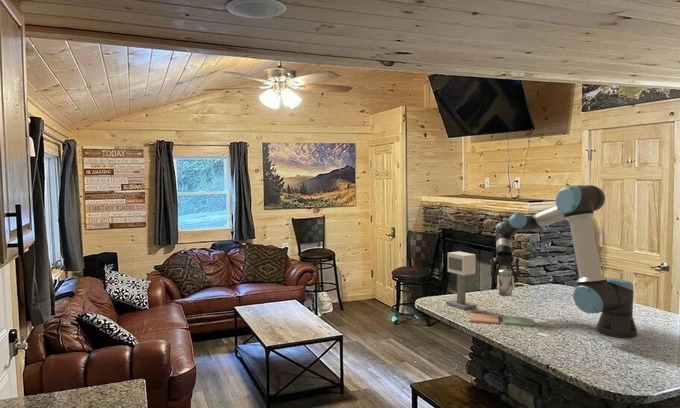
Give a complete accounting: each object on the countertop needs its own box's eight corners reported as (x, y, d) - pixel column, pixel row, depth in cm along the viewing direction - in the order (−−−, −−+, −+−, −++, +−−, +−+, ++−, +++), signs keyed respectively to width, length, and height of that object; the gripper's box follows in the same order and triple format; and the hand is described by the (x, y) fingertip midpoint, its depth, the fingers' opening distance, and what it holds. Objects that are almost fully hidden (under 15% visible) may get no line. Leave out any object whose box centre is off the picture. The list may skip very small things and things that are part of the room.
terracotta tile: (498, 323, 228) (498, 321, 228) (469, 321, 231) (469, 319, 231) (497, 317, 239) (497, 315, 239) (469, 315, 242) (469, 313, 242)
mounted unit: (463, 310, 251) (463, 256, 249) (445, 304, 262) (446, 252, 261) (476, 307, 256) (477, 254, 254) (458, 301, 267) (459, 251, 265)
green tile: (533, 326, 224) (533, 324, 224) (503, 324, 227) (503, 322, 227) (531, 319, 235) (531, 317, 235) (502, 317, 238) (502, 315, 238)
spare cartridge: (512, 296, 236) (512, 271, 235) (498, 295, 238) (499, 271, 237) (511, 293, 242) (511, 269, 241) (498, 293, 244) (498, 268, 243)
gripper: (523, 254, 251) (526, 293, 236) (484, 253, 256) (484, 291, 241) (524, 245, 246) (527, 284, 231) (484, 244, 251) (485, 283, 236)
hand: (505, 288), depth 236 cm, fingers closed on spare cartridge, 6 cm apart
